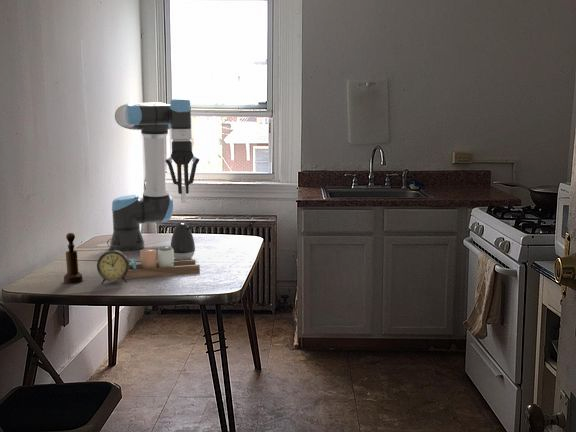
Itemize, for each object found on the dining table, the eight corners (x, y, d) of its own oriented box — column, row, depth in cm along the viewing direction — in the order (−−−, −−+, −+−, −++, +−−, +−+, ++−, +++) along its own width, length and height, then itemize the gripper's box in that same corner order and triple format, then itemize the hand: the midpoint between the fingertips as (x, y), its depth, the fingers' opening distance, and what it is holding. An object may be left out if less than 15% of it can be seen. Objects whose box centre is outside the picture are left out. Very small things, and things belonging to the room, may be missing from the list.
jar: (157, 271, 265) (156, 246, 263) (173, 270, 266) (172, 245, 265) (159, 274, 259) (158, 249, 257) (175, 273, 261) (174, 248, 259)
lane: (119, 273, 262) (119, 265, 262) (194, 266, 271) (194, 259, 271) (121, 279, 253) (121, 271, 252) (199, 272, 261) (199, 265, 261)
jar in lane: (140, 272, 263) (139, 249, 261) (156, 271, 265) (155, 248, 263) (142, 276, 257) (141, 252, 256) (158, 274, 259) (157, 251, 258)
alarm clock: (97, 285, 245) (95, 240, 242) (100, 281, 250) (97, 237, 248) (128, 284, 246) (126, 239, 243) (130, 280, 251) (128, 236, 249)
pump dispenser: (191, 262, 279) (189, 225, 277) (167, 261, 282) (165, 224, 279) (199, 256, 289) (198, 221, 287) (176, 256, 291) (174, 220, 289)
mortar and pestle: (63, 280, 252) (60, 232, 250) (81, 278, 255) (78, 230, 252) (65, 284, 246) (61, 235, 244) (83, 282, 249) (80, 233, 246)
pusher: (115, 273, 261) (114, 260, 260) (134, 271, 263) (134, 258, 262) (116, 277, 254) (116, 264, 253) (136, 275, 256) (136, 262, 255)
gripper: (165, 141, 254) (168, 204, 257) (200, 140, 258) (202, 202, 261) (162, 140, 261) (165, 201, 264) (196, 139, 265) (198, 200, 268)
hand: (183, 202), depth 263 cm, fingers closed
